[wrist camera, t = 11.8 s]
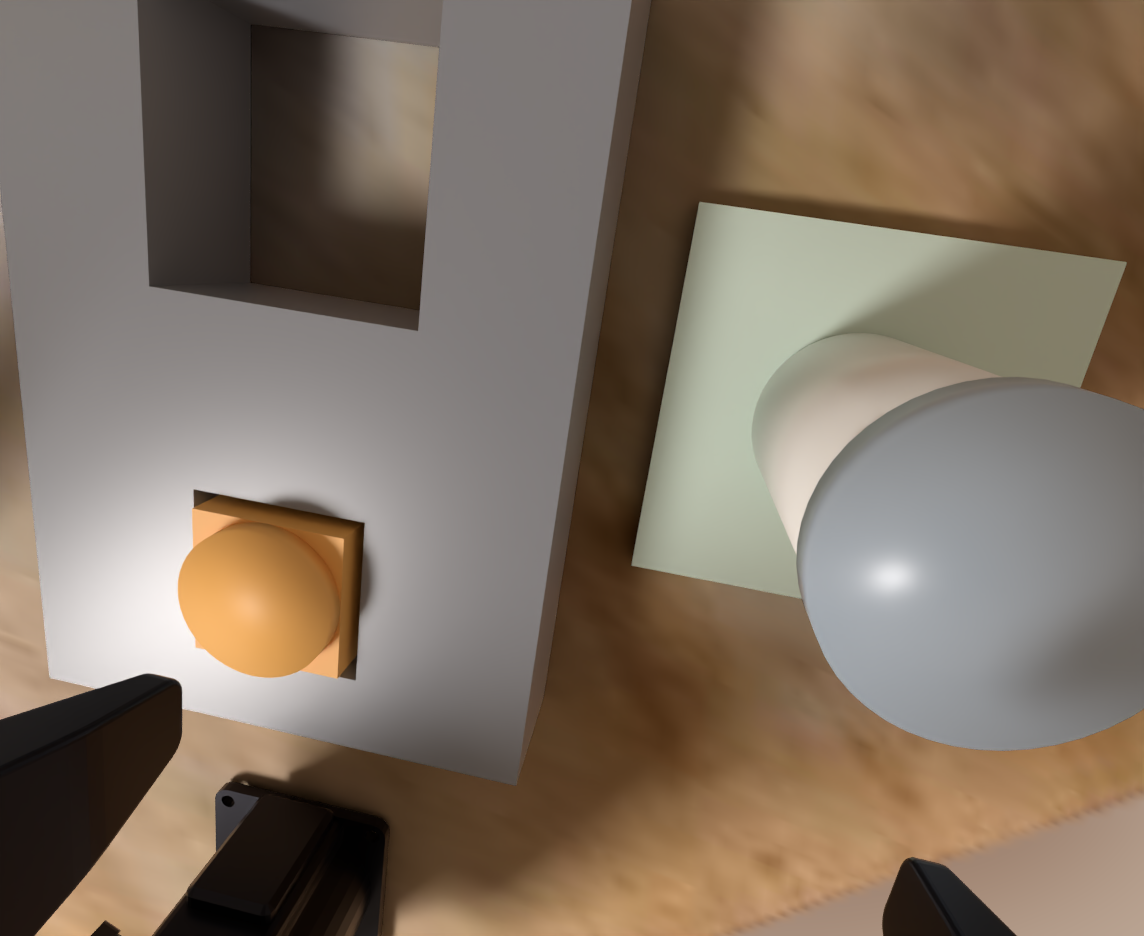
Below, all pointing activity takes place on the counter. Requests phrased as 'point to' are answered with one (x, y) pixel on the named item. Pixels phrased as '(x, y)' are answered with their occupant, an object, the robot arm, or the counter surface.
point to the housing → (313, 352)
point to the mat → (814, 312)
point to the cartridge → (962, 539)
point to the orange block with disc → (273, 587)
